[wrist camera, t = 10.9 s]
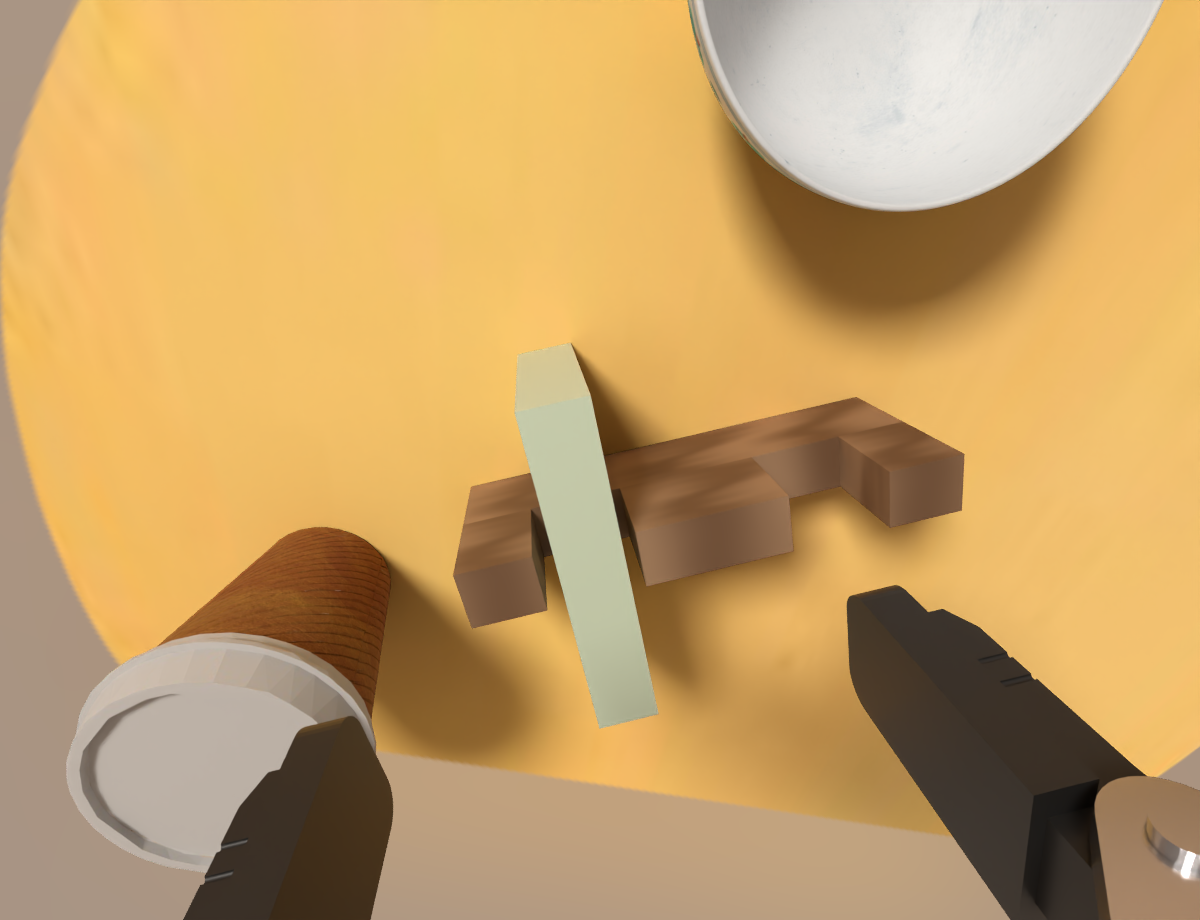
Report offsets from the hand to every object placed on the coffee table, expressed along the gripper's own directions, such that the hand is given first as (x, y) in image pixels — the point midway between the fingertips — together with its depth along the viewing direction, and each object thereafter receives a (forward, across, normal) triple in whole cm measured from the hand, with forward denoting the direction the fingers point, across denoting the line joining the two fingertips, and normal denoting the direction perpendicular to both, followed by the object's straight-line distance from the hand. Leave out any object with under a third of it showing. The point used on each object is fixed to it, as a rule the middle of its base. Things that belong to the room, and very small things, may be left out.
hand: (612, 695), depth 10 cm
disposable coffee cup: (+20, +14, +7) cm, 25 cm away
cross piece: (+20, 0, +5) cm, 21 cm away
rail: (+20, -5, +5) cm, 21 cm away
